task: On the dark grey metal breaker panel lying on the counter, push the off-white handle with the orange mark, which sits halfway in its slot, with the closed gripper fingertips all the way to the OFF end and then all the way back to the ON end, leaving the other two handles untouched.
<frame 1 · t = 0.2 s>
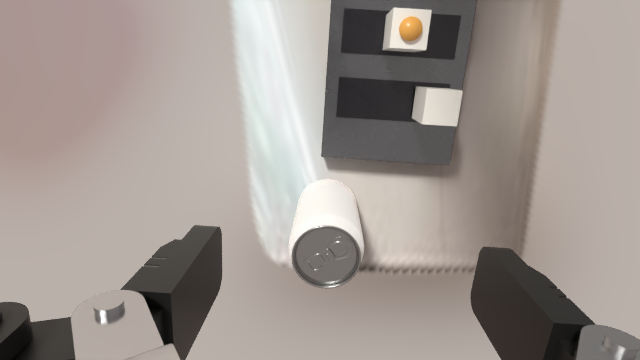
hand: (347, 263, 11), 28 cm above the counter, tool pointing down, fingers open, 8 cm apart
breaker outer: (435, 105, 33), point 5 cm above the counter, slide at 7.0 cm
can: (327, 204, 41), on the counter
panel: (396, 36, 36), on the counter
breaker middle: (405, 31, 31), point 5 cm above the counter, slide at 3.5 cm
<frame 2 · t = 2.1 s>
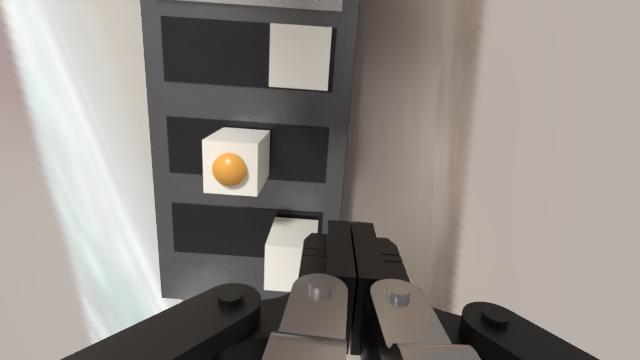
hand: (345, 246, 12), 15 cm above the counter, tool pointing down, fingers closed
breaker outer: (292, 252, 24), point 5 cm above the counter, slide at 7.0 cm
panel: (253, 144, 26), on the counter
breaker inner: (302, 58, 20), point 5 cm above the counter, slide at 7.0 cm
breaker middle: (238, 160, 22), point 5 cm above the counter, slide at 3.5 cm
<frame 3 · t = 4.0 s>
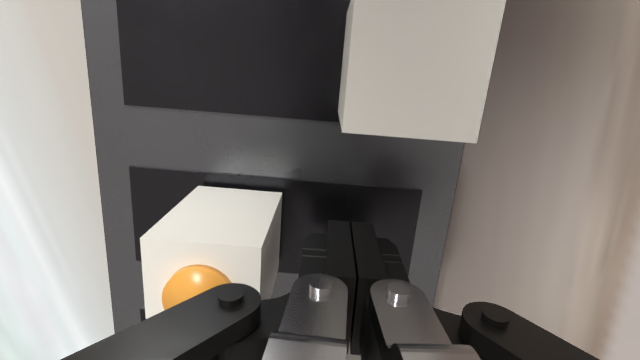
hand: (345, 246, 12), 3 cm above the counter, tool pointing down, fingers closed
panel: (280, 206, 16), on the counter
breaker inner: (401, 67, 10), point 4 cm above the counter, slide at 7.0 cm
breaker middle: (222, 258, 11), point 5 cm above the counter, slide at 2.3 cm, touching gripper
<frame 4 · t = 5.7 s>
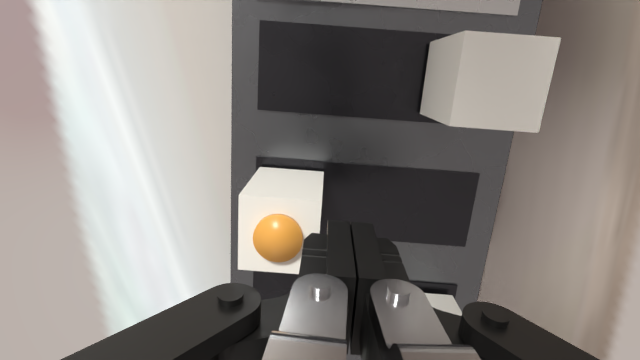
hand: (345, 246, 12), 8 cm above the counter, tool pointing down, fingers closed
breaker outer: (429, 346, 17), point 5 cm above the counter, slide at 7.0 cm
panel: (360, 190, 20), on the counter
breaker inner: (478, 82, 14), point 5 cm above the counter, slide at 7.0 cm
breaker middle: (284, 216, 15), point 5 cm above the counter, slide at -0.1 cm
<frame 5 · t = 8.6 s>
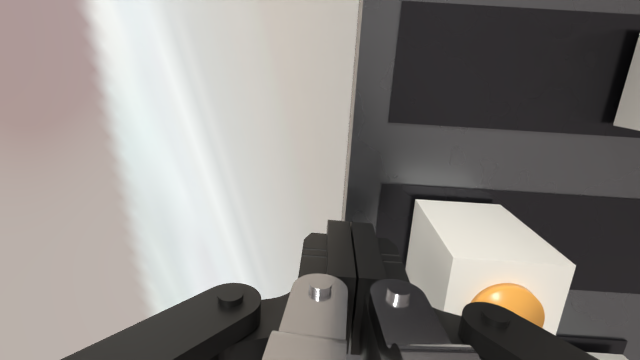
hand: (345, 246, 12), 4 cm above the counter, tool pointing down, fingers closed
panel: (494, 219, 16), on the counter
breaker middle: (473, 273, 11), point 5 cm above the counter, slide at 0.9 cm, touching gripper
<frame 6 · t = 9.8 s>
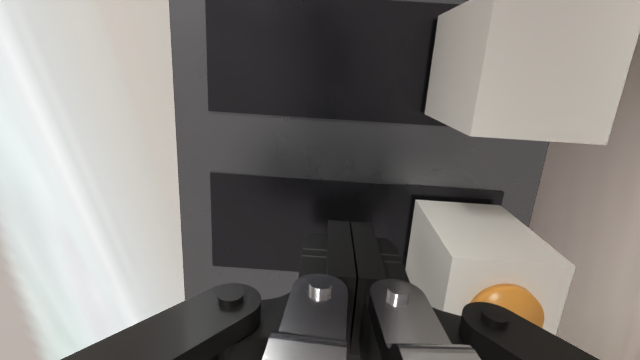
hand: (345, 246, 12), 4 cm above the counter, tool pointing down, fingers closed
panel: (349, 210, 16), on the counter
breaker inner: (508, 69, 10), point 4 cm above the counter, slide at 7.0 cm
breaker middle: (473, 273, 11), point 5 cm above the counter, slide at 7.1 cm, touching gripper
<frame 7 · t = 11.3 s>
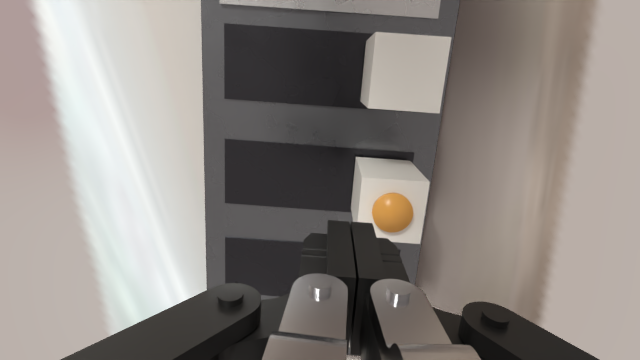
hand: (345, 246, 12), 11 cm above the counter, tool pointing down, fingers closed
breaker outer: (371, 299, 20), point 4 cm above the counter, slide at 7.0 cm
panel: (318, 169, 23), on the counter
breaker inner: (399, 73, 17), point 5 cm above the counter, slide at 7.0 cm
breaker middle: (385, 197, 19), point 5 cm above the counter, slide at 7.1 cm
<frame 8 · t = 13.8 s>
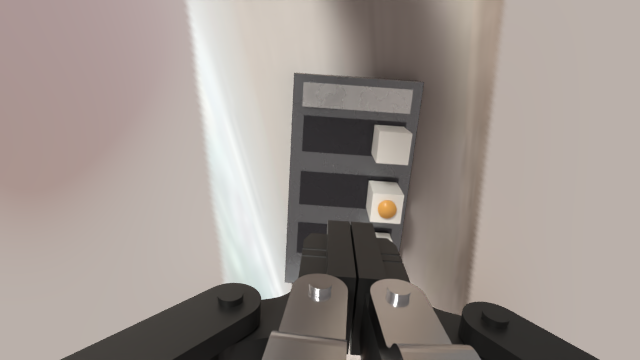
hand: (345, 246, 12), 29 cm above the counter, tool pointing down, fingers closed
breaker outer: (376, 253, 40), point 4 cm above the counter, slide at 7.0 cm
panel: (347, 185, 42), on the counter
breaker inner: (390, 144, 36), point 5 cm above the counter, slide at 7.0 cm
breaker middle: (384, 201, 38), point 5 cm above the counter, slide at 7.1 cm
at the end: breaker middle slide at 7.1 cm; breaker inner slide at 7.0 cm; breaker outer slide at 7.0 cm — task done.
